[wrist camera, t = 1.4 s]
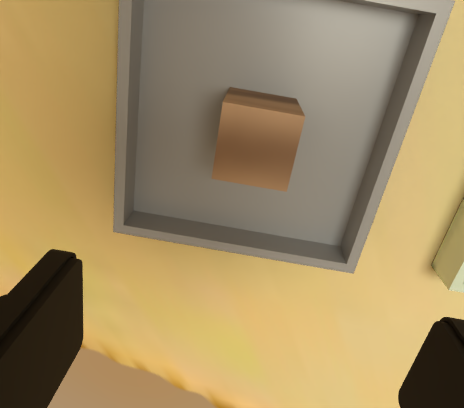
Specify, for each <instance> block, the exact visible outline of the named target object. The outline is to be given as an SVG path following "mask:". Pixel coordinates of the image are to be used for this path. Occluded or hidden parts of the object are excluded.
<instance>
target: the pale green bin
mask: <svg viewBox="0 0 464 408" xmlns="http://www.w3.org/2000/svg"><path fill="white" fill-rule="evenodd" d="M431 266H432V267H433V269H434V270H435V271H436V273H437V274H438V276H439V277H440V279H441V280H442V281H443V283H444V284H445V286H446V287H447V288H448V290H451V291H457V292H463V293H464V198H463V200H462V202H461V204H460V207H459V209H458V211H457V213H456V215H455V217H454V219H453V221H452V223H451V225H450V227H449V230H448V232H447V234H446V236H445V238H444V240H443V242H442V244H441V246H440V248H439V250H438V253H437V255H436V257H435V259H434V261H433V263H432V265H431Z"/></svg>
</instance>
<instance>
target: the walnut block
mask: <svg viewBox="0 0 464 408" xmlns="http://www.w3.org/2000/svg"><path fill="white" fill-rule="evenodd" d="M304 120H305V115H304V113H303V111H302V109H301V107H300V105H299V103H298V101H297V99H296V98H290V97H284V96H279V95H273V94H267V93H262V92H256V91H250V90H245V89H239V88H234V87H230V88H229V90H228V92H227V94H226V96H225V98H224V100H223V104H222V111H221V117H220V124H219V131H218V138H217V145H216V151H215V158H214V165H213V172H212V178H211V179H216V180H221V181H227V182H233V183H238V184H244V185H250V186H256V187H261V188H267V189H273V190H278V191H284V192H287V189H288V185H289V181H290V177H291V173H292V169H293V165H294V161H295V157H296V152H297V148H298V144H299V140H300V136H301V132H302V128H303V124H304Z"/></svg>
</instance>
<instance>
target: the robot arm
mask: <svg viewBox="0 0 464 408" xmlns="http://www.w3.org/2000/svg"><path fill="white" fill-rule="evenodd" d="M82 341H83V275H82V261H81V260H80V259H76V255H75V253H73V252H67V251H61V250H55V249H51V250H50V251H48V252H47V253H46V254H45V255H44V256H43V258H42V259H41V260H40V261H39V262H38V263H37V264H36V265H35V266H34V267H33V268H32V269H31V270H30V271H29V272H28V273H27V274H26V275H25V276H24V278H23V279H22V280H21V281H20V282H19V283H18V284H17V285H16V286H15V287H14V288H13V289H12V290H11V291H10V292H9V293H8V294H7V295H3V296H1V297H0V408H47V407H48V405H49V403H50V402H51V400H52V398H53V396H54V394H55V393H56V391H57V389H58V387H59V386H60V384H61V382H62V380H63V378H64V377H65V375H66V373H67V371H68V369H69V368H70V366H71V364H72V362H73V361H74V359H75V357H76V355H77V353H78V351H79V350H80V347H81V345H82ZM398 399H399V405H400V408H464V320H461V319H455V318H450V317H443V318H442V319H441V320H440V321H436V322H435V323H434V324H433V326H432V328H431V330H430V332H429V333H428V335H427V337H426V339H425V341H424V343H423V345H422V347H421V349H420V351H419V353H418V355H417V357H416V359H415V361H414V363H413V365H412V367H411V368H410V370H409V372H408V374H407V376H406V378H405V380H404V382H403V384H402V386H401V388H400V390H399V395H398Z"/></svg>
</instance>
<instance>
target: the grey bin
mask: <svg viewBox="0 0 464 408" xmlns="http://www.w3.org/2000/svg"><path fill="white" fill-rule="evenodd" d="M454 2H455V1H453V0H119V22H118V63H117V103H116V144H115V185H114V226H113V232H116V233H122V234H128V235H133V236H139V237H145V238H151V239H157V240H162V241H168V242H174V243H180V244H185V245H191V246H197V247H203V248H209V249H214V250H220V251H226V252H232V253H237V254H243V255H249V256H255V257H261V258H266V259H272V260H278V261H284V262H289V263H295V264H301V265H307V266H313V267H318V268H324V269H330V270H336V271H341V272H347V273H353V274H354V271H355V268H356V266H357V263H358V260H359V258H360V255H361V252H362V249H363V247H364V244H365V241H366V239H367V236H368V233H369V231H370V228H371V225H372V223H373V220H374V217H375V215H376V212H377V209H378V207H379V204H380V201H381V198H382V196H383V193H384V190H385V188H386V185H387V182H388V180H389V177H390V174H391V172H392V169H393V166H394V164H395V161H396V158H397V156H398V153H399V150H400V147H401V145H402V142H403V139H404V137H405V134H406V131H407V129H408V126H409V123H410V121H411V118H412V115H413V113H414V110H415V107H416V104H417V102H418V99H419V96H420V94H421V91H422V88H423V86H424V83H425V80H426V78H427V75H428V72H429V70H430V67H431V64H432V62H433V59H434V56H435V53H436V51H437V48H438V45H439V43H440V40H441V37H442V35H443V32H444V29H445V27H446V24H447V21H448V19H449V16H450V13H451V11H452V8H453V5H454ZM230 87H234V88H239V89H245V90H250V91H256V92H262V93H267V94H273V95H279V96H284V97H290V98H296V99H297V101H298V103H299V105H300V107H301V109H302V111H303V113H304V115H305V120H304V124H303V128H302V132H301V136H300V140H299V144H298V148H297V152H296V157H295V161H294V165H293V169H292V173H291V177H290V181H289V185H288V189H287V192H284V191H278V190H273V189H267V188H261V187H256V186H250V185H244V184H238V183H233V182H227V181H221V180H216V179H211V178H212V172H213V165H214V158H215V151H216V145H217V138H218V131H219V124H220V117H221V111H222V104H223V100H224V98H225V96H226V94H227V92H228V90H229V88H230Z"/></svg>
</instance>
